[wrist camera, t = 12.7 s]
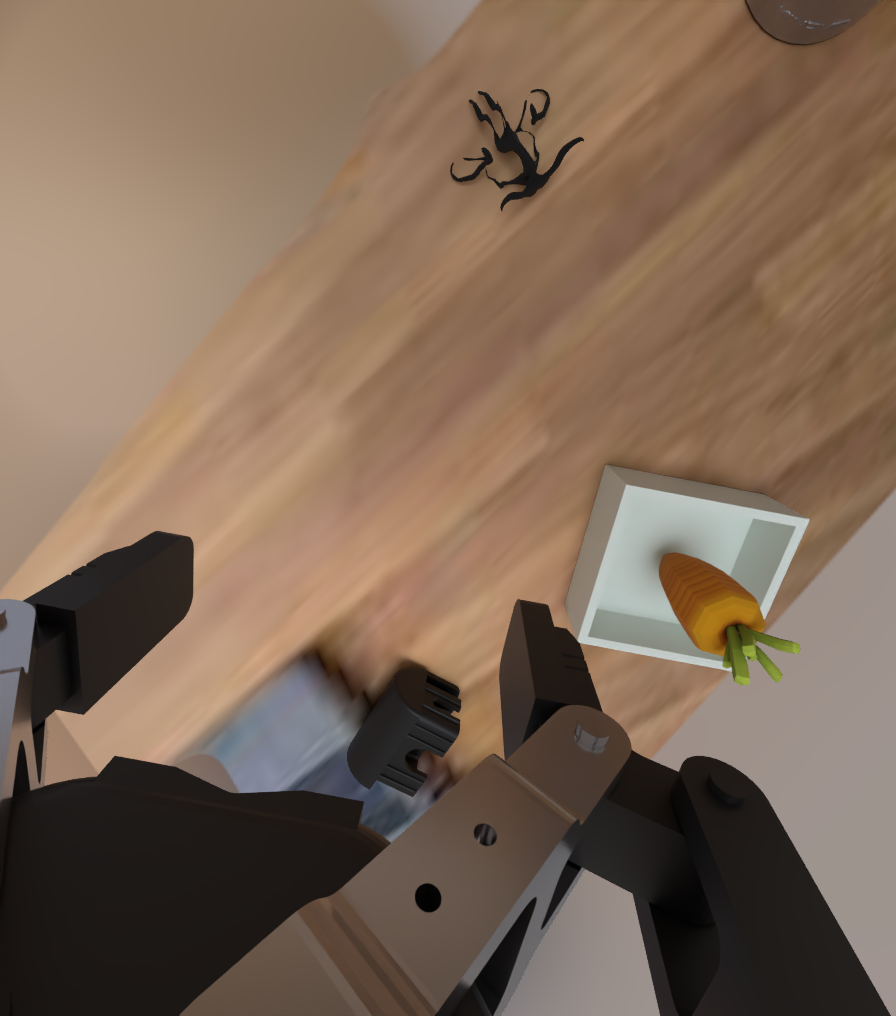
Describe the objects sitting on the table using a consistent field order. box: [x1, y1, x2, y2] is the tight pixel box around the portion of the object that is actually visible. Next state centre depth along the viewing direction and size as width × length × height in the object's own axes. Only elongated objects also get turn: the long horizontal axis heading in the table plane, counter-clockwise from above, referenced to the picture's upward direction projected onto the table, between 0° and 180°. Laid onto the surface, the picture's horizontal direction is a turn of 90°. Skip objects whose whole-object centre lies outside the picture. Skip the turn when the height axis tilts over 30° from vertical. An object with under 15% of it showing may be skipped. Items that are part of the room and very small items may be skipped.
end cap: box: [347, 667, 461, 797], centre depth 47 cm, size 10×7×7 cm
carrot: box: [659, 552, 800, 685], centre depth 35 cm, size 5×5×15 cm
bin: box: [564, 465, 810, 671], centre depth 41 cm, size 13×13×6 cm
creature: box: [450, 89, 584, 212], centre depth 32 cm, size 8×5×8 cm
